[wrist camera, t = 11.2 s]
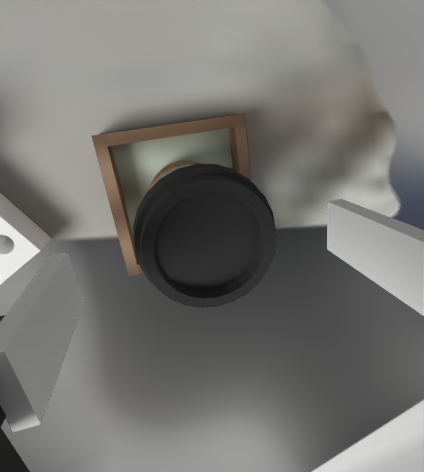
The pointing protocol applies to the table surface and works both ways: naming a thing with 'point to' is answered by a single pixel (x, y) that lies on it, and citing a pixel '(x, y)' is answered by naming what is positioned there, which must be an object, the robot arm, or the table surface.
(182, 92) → the table surface
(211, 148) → the cup dock
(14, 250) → the bracket
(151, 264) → the coffee cup
